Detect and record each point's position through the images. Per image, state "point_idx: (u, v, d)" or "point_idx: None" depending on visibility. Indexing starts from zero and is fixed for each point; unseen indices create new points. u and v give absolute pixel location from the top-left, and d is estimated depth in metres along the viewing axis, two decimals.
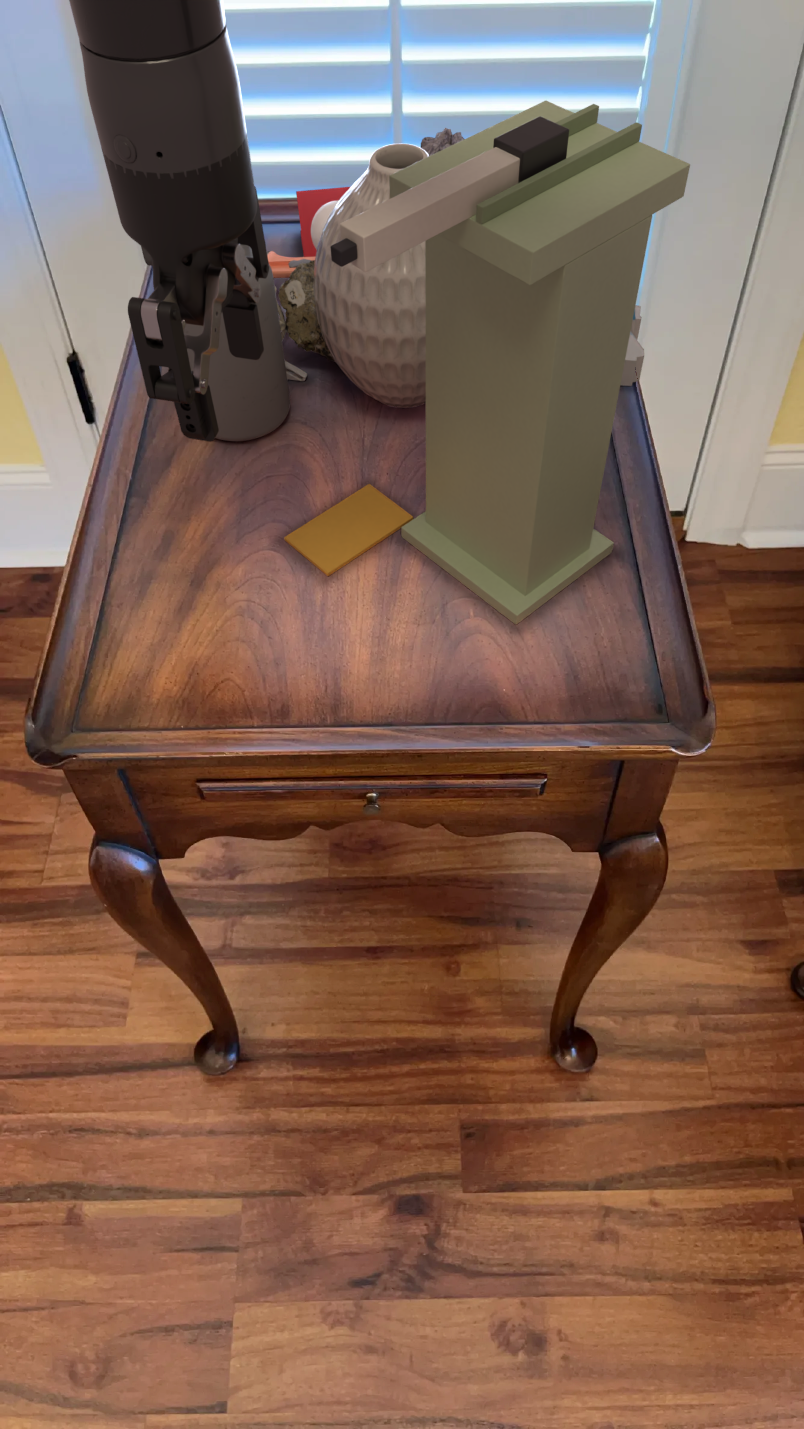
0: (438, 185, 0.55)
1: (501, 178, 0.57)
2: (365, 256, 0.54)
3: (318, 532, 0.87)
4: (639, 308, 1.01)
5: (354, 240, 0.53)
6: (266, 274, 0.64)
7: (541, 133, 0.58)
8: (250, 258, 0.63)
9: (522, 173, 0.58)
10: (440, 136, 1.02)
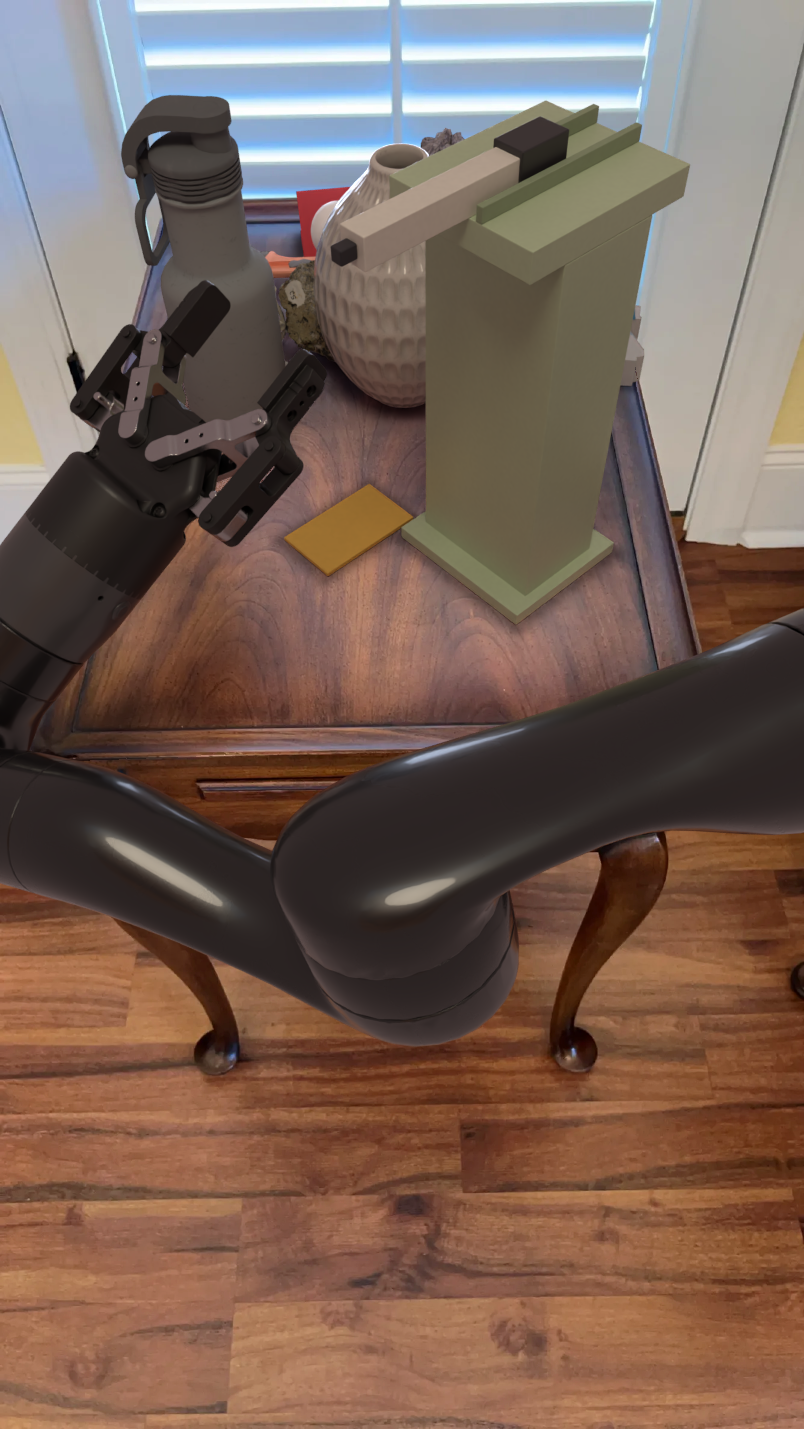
0: (438, 185, 0.55)
1: (501, 178, 0.57)
2: (365, 256, 0.54)
3: (318, 532, 0.87)
4: (639, 308, 1.01)
5: (354, 240, 0.53)
6: (131, 327, 0.55)
7: (541, 133, 0.58)
8: (131, 351, 0.56)
9: (522, 173, 0.58)
10: (440, 136, 1.02)
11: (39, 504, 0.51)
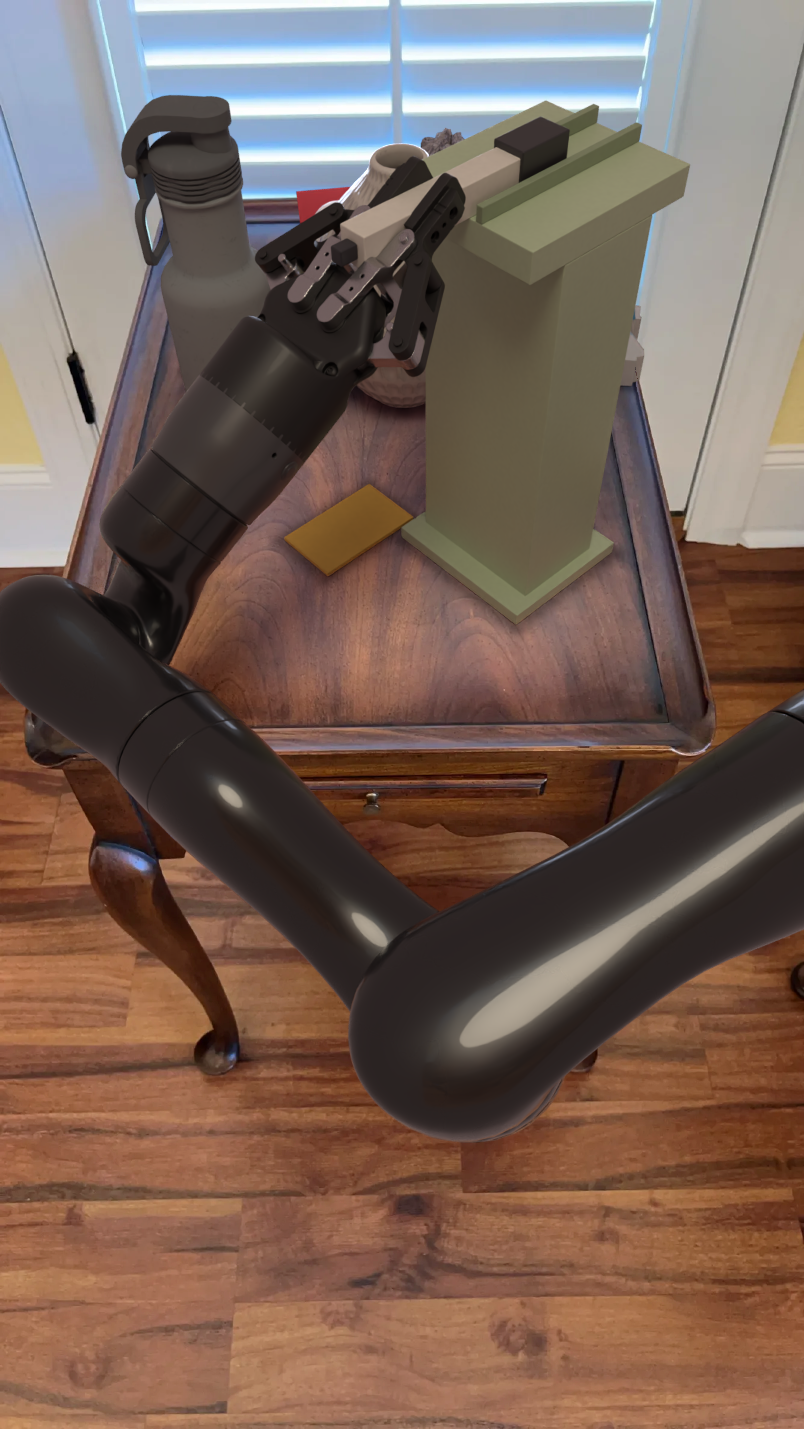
0: None
1: (502, 178, 0.57)
2: (365, 256, 0.54)
3: (318, 532, 0.87)
4: (639, 308, 1.01)
5: (354, 240, 0.53)
6: (340, 207, 0.56)
7: (541, 133, 0.58)
8: (335, 231, 0.57)
9: (523, 173, 0.58)
10: (440, 136, 1.02)
11: (216, 364, 0.54)
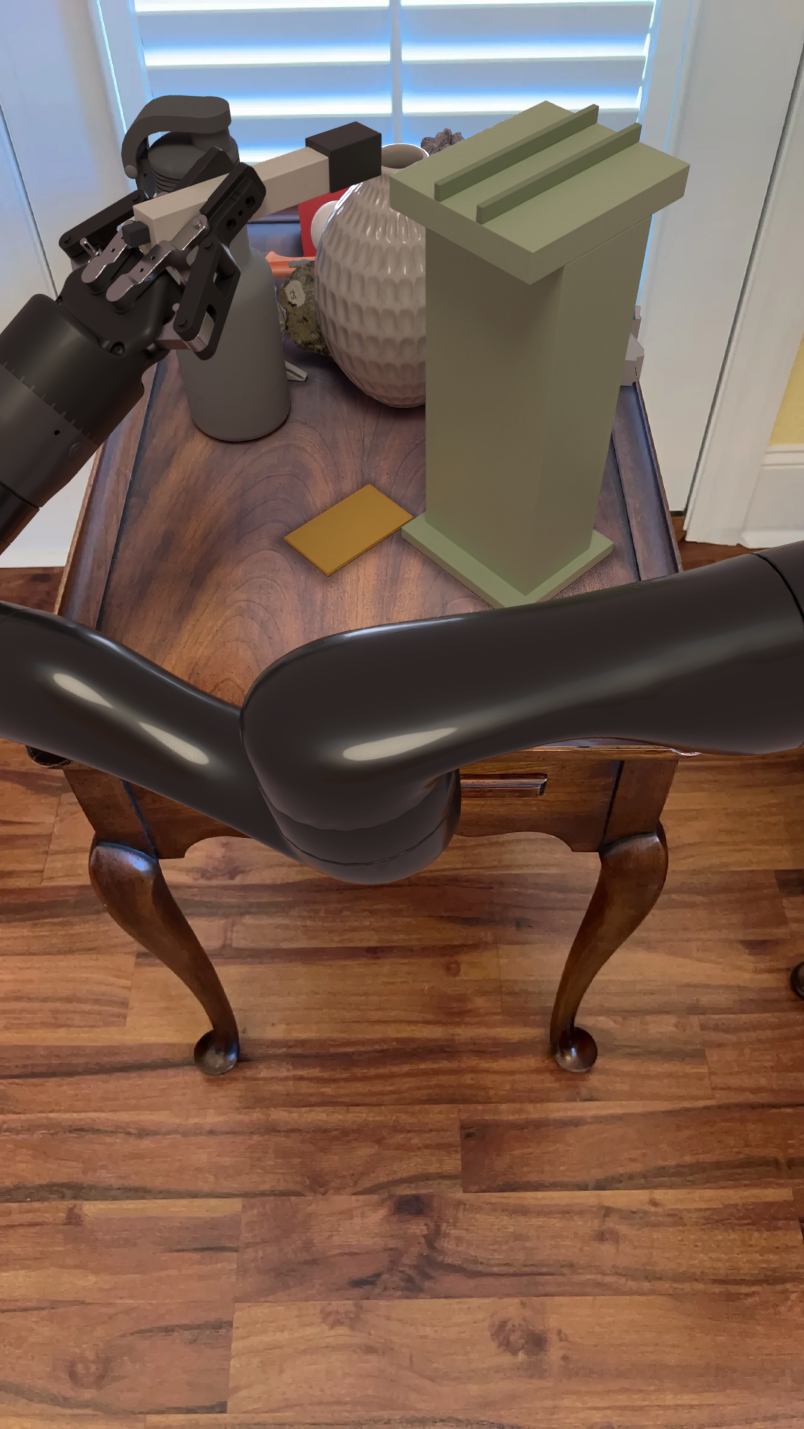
0: None
1: (309, 174, 0.57)
2: (157, 239, 0.53)
3: (318, 532, 0.87)
4: (639, 308, 1.01)
5: (146, 222, 0.53)
6: (142, 194, 0.56)
7: (353, 135, 0.58)
8: None
9: (332, 172, 0.58)
10: (440, 136, 1.02)
11: (0, 339, 0.53)
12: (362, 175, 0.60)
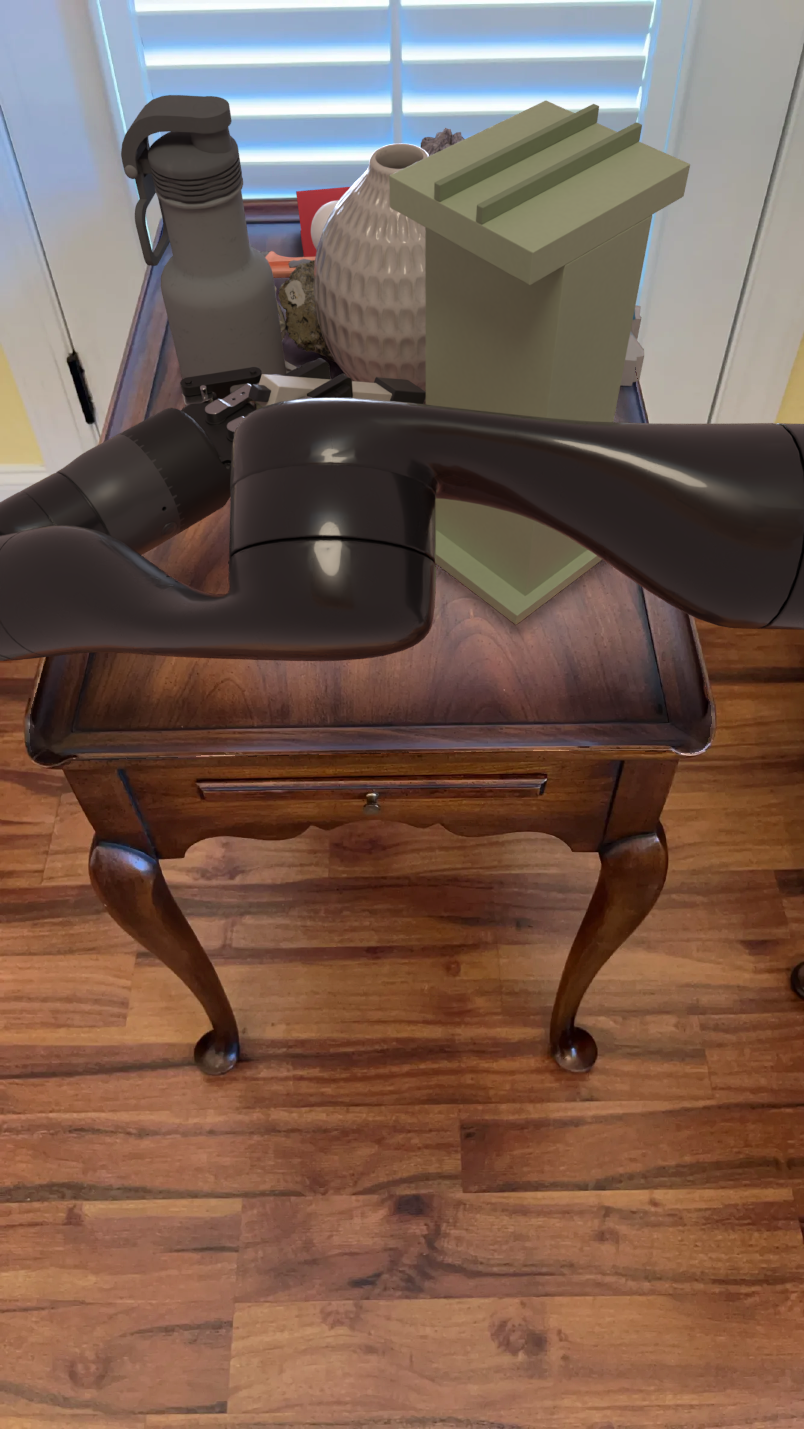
0: None
1: None
2: (275, 401, 0.69)
3: None
4: (639, 308, 1.01)
5: (270, 388, 0.69)
6: (258, 371, 0.72)
7: (408, 387, 0.79)
8: None
9: None
10: (440, 136, 1.02)
11: (137, 429, 0.65)
12: None
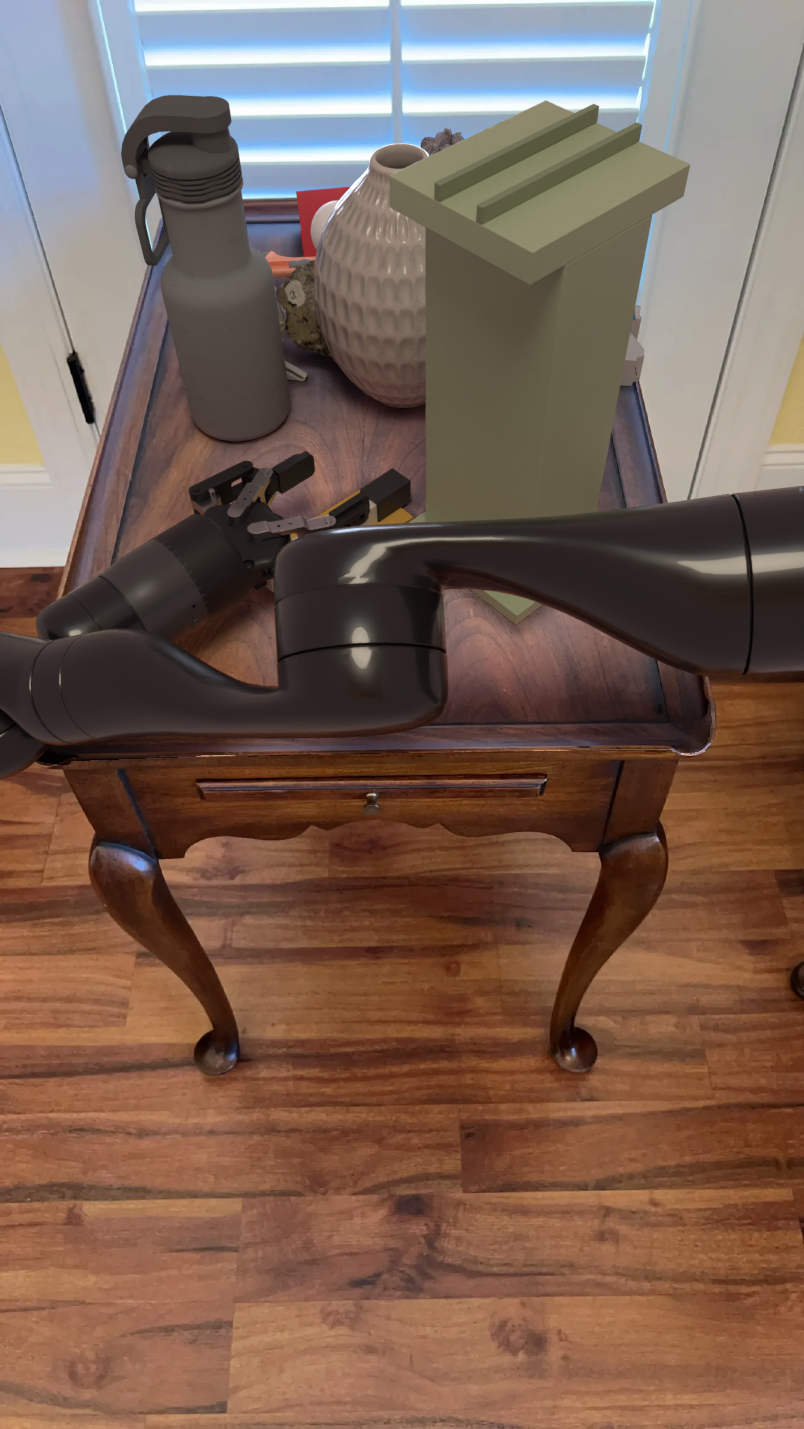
0: None
1: None
2: (272, 584, 0.83)
3: None
4: (639, 308, 1.01)
5: None
6: (250, 463, 0.82)
7: (391, 484, 0.87)
8: (242, 477, 0.82)
9: (379, 512, 0.87)
10: (440, 136, 1.02)
11: (169, 535, 0.73)
12: (398, 506, 0.88)
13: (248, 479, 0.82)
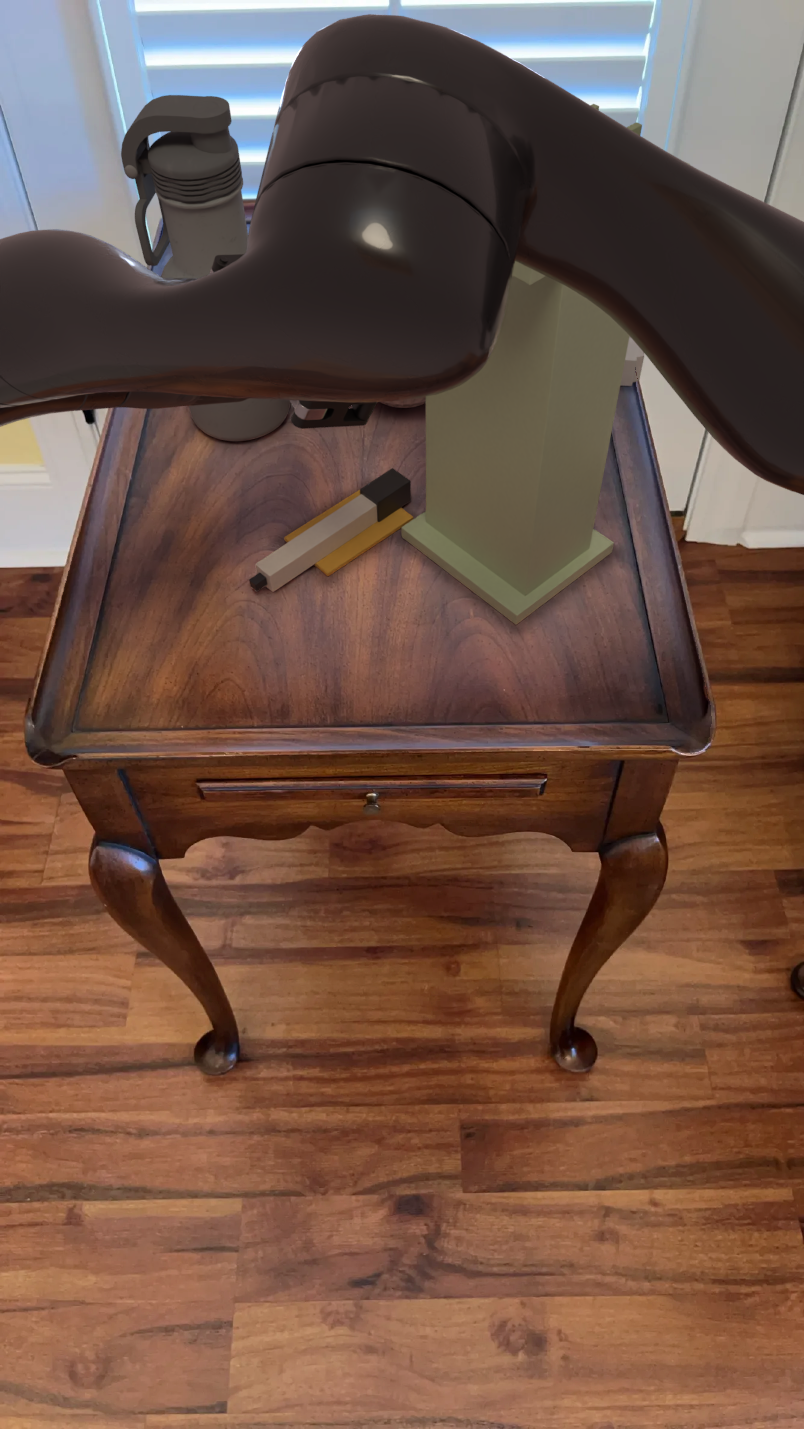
0: (321, 529, 0.85)
1: (364, 518, 0.86)
2: (272, 584, 0.83)
3: None
4: None
5: (264, 575, 0.82)
6: None
7: (391, 484, 0.87)
8: None
9: (379, 512, 0.87)
10: None
11: None
12: (398, 506, 0.88)
13: None
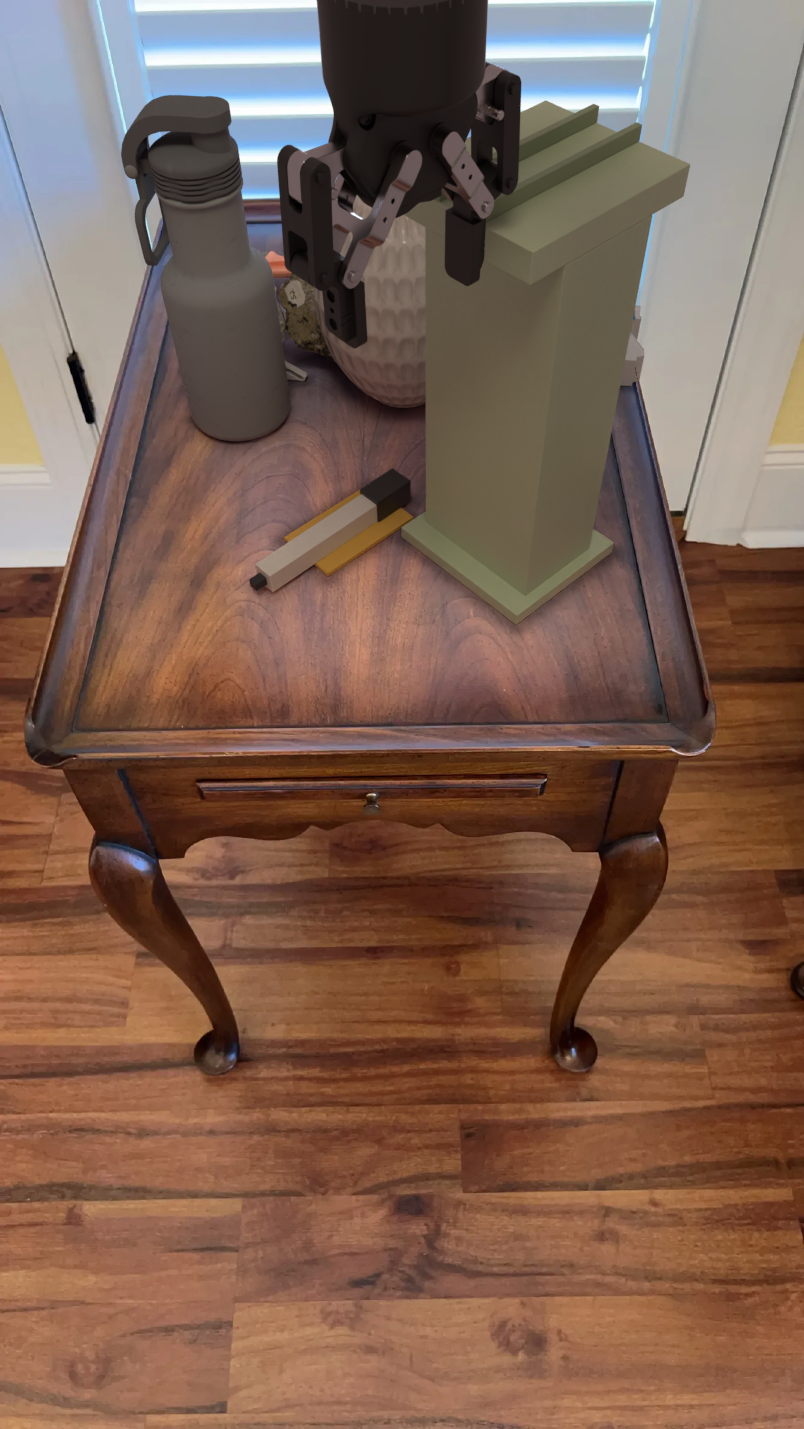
0: (321, 529, 0.85)
1: (364, 518, 0.86)
2: (272, 584, 0.83)
3: None
4: (639, 308, 1.01)
5: (264, 575, 0.82)
6: (509, 191, 0.54)
7: (391, 484, 0.87)
8: None
9: (379, 512, 0.87)
10: None
11: (478, 13, 0.42)
12: (398, 506, 0.88)
13: (490, 176, 0.53)
